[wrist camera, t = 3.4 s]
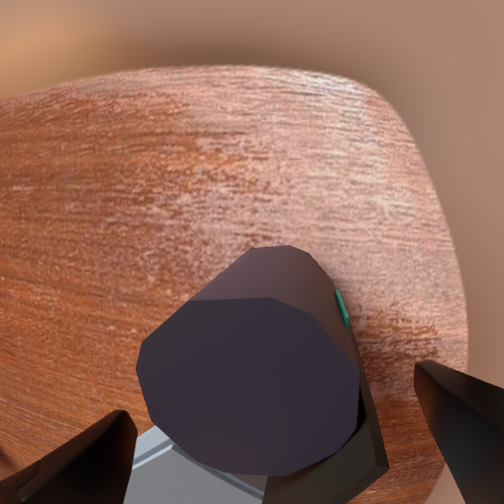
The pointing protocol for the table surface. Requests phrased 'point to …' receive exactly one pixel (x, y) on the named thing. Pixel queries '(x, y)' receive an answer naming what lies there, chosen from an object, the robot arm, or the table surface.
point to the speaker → (267, 381)
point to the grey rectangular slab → (184, 477)
